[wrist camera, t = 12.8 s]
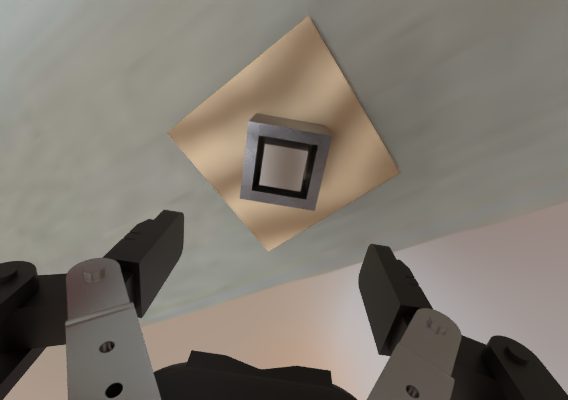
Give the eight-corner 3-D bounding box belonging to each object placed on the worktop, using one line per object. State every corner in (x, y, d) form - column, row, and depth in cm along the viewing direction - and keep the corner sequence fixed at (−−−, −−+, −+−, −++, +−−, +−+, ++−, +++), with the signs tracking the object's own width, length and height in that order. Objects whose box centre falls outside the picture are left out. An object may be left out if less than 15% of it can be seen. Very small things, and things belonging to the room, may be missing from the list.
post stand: (172, 129, 28) (140, 144, 22) (307, 19, 24) (311, 0, 18) (269, 244, 33) (263, 280, 27) (395, 168, 29) (421, 191, 23)
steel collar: (248, 178, 28) (239, 198, 24) (256, 112, 26) (248, 121, 21) (311, 189, 29) (314, 211, 24) (325, 125, 26) (332, 135, 22)
